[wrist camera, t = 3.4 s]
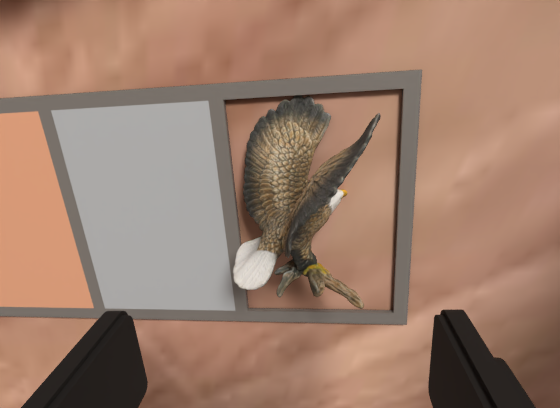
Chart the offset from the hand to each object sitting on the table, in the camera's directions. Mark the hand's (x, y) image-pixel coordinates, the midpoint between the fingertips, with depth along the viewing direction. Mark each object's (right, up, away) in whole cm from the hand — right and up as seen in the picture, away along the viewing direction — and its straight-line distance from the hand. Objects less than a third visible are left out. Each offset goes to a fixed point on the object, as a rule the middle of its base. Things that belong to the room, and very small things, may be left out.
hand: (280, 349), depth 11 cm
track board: (-8, +4, +11) cm, 14 cm away
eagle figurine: (+2, +6, +9) cm, 11 cm away
